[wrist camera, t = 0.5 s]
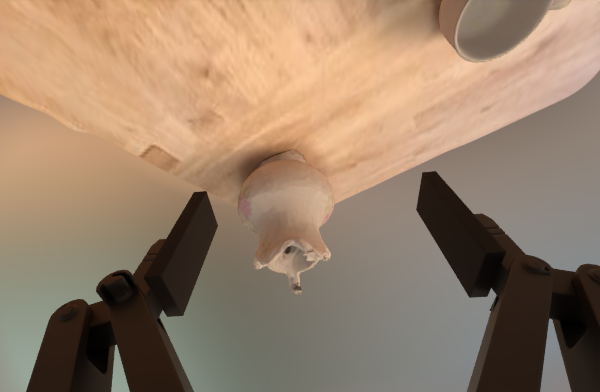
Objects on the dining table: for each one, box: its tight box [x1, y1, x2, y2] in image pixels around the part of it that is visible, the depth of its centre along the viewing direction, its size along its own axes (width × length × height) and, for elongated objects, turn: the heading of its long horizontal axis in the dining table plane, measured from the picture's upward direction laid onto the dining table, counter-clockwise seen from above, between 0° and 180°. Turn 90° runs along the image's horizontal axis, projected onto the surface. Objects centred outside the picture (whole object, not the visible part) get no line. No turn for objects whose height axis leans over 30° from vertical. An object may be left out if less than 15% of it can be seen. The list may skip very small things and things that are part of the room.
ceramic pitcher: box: [238, 150, 334, 295], centre depth 55 cm, size 22×20×25 cm
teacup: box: [439, 0, 571, 63], centre depth 34 cm, size 14×11×8 cm
